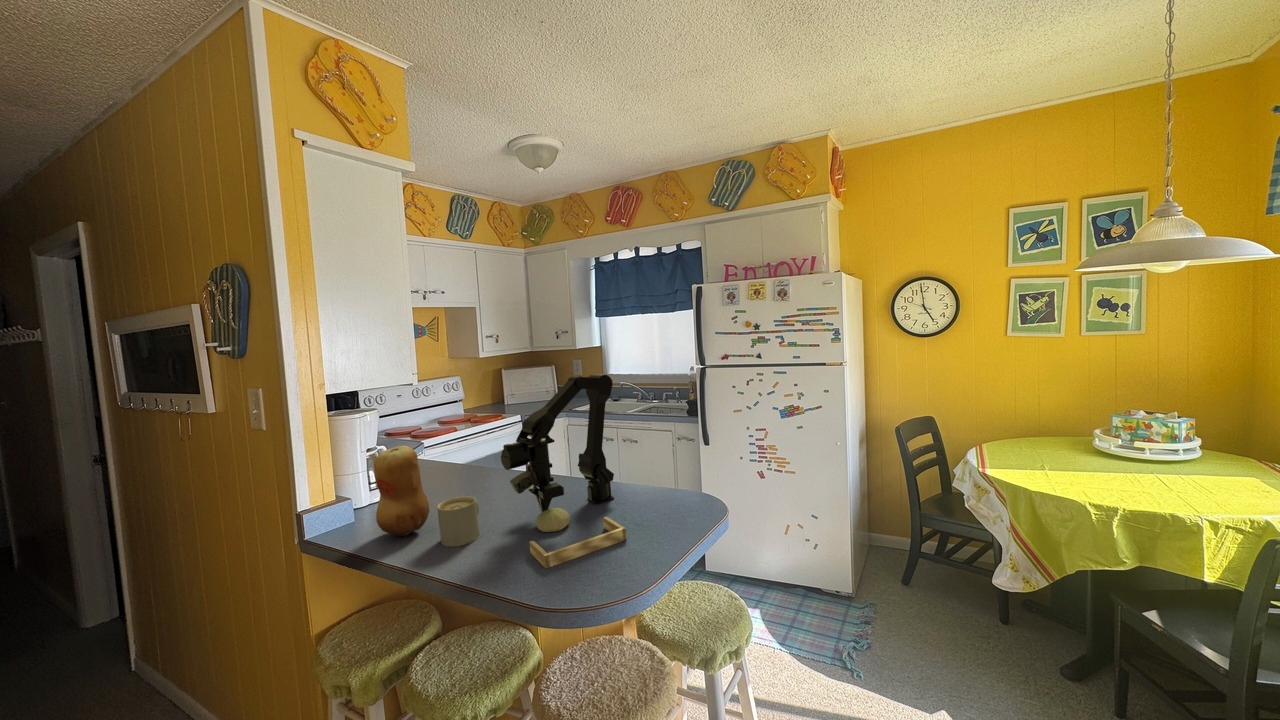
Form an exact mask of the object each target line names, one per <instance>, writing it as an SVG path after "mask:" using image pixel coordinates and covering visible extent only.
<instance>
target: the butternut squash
mask: <svg viewBox="0 0 1280 720" xmlns="http://www.w3.org/2000/svg"><path fill="white" fill-rule="evenodd" d="M373 471H374V478H375V484H376V486H377V488H378V492H379V494H380V495H379V500H378V504H377V507H376V512H375V514H376V515H375V516H376V517H375V518H376V519H375V520H376V524H377V525H378V527H379V529H380V530H381V531H382V532H384V533H386V534H387V533H388V534H391V535H394V536H397V537H398V536H399V537H404V536H405V537H406V536H408V535H409V534H411V533H412V532H414V531H415V532H416V531H419V530H421V528H422V527H423V526H424V525H425V523H426V521H427V520H428V517H429V513H430V503H429V501H428V498H427V495H426V494H425V492H424V489H423V486H422V485H423V484H422V478H421V469H420V464H419V461H418V453H417V452H416V451H415V450H414V448H412V447H410V446H407V445H398V446H395V447H391V448H389V449H386V450H384V451H382V452H381V453H379V454H378V455H377V456H376V457H375V460H374V462H373Z"/></svg>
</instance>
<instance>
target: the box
mask: <svg viewBox="0 0 1280 720" xmlns="http://www.w3.org/2000/svg"><path fill="white" fill-rule="evenodd" d="M602 521H603V529H604V530H606V531H607V530H608V531H607V532H605V533H603V534H599V535H597V536H594V537H591V538H587V539H585V540H582V541H579V542H577V543H573V544H571V545H568V546H567V545H566V546H565V547H561V548H559V549H556V550H553V551H551V552H546V551H545V550H544V549H543V548H542V547H541V545H539V544H537V542H536V541H535V540H531V541H529V550H530V552H529V553H530V555H531V556H533V558H534V559H536V560H537V561H538V562H539V563H540V564H541V565H542V566H543V567H544V568H545V569H546V568H547V569H549V568H552V567H555V566H557V565H560V564H563V563H566V562H568V561H571V560H574V559H576V558H579V557H582V556H585V555H588V554H591V553H594V552H596V551H598V550H602V549H603V548H607V547H609V546H613V545H616V544H618V543H621V542H624V541H626V540H627V528H626V527H624V526H622V524H619V523H618V522H616V521H614V520H612V519H611V518H610V517H608V516H604V517H603V518H602ZM554 565H555V566H554Z"/></svg>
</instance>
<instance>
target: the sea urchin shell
mask: <svg viewBox="0 0 1280 720" xmlns="http://www.w3.org/2000/svg"><path fill="white" fill-rule="evenodd" d="M570 518H571V517H570V514H569V512H568V511H566V510H565V509H563V508H560V507H553V508H548V510H546V511H544V512H541V513H539V514H538V515H537V517H536V519H535V526H536V528H537V529H538V531H540V532H543V533H551V532H554V533H555V532H558V531H562V530H563V529H565V528H566V527H567V526H568V525H569V523H570Z"/></svg>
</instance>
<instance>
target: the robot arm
mask: <svg viewBox="0 0 1280 720" xmlns="http://www.w3.org/2000/svg"><path fill="white" fill-rule="evenodd" d="M612 389H613V379H612V378H611V376H610V375H608V374H600V373H591V374H590V375H589V376H579V375H571V376H570V377H568V379H567V381H566V382H565V383H564V385H563V386H562V387H561V388H560V389H559V390H557V392H556V393H555V394H554V395H553V397H552V398H550V400H549V401H548V402H546V404H544V406H543V407H541V408H540V409H538V410H536V411H534V412H533V413H531V414H530V415H529V416H527V417H526V418H525V419H524V420H523V422H522V428H521V430H520V432H519V433H518V435H517V438H516V440H515V442H514V443H506V444H504V445H503V446H502V447H503V449H502V451H501V454H500V461H501V465H502V467H503V468H504V469H505V470H506V471H509V470H513V469H517V468H520V467H523V466H526V469H525V471H524V472H521V473H519V474H518V475H516V476H515V477H513V478H512V479H510V480H509V483H510V485H511V487H512V488H513V491H514V492H516V494H522V493H524V492H525V491H526V490H528V492H530V493H531V494H533V495H534V497H535V498H536V500H537V501H536V502H537V503H538V507H539V509H540V512H541V513H542V512H544V511H546V510H549V509H550V504H551V502H552V499H554V498H557V497H558V498H559V497H561V496H564V495H565V487H564V486H562V485H561V484H559V483H558V482H554V481H555V480H554V477H553V476H552V475H551V468H553V463H551V462H550V454H549V453H550V451H549V444H553V443H555V441H556V440H555V439H553V438H552V437H551V436H550V435H549V434H550V432H551V431H552V429H553V427H554V425H555V422H556V419H557V417H558V416H559V415H561V414H560V413H562V412H563V411H564V409H565V408H566V407H567V406H568V405H569V404H570V403H571V401H573V399H574V398H575V397H576V396H577V395H578V393H580V391H581V390H585V393H586V396H587V399H588V401H589V409H588V410H589V411H588V419H587V420H588V421H587V422H588V423H587V435H586V447H585V450H584V451H583V453H582V452H581V453H579V454H578V463H577V467H578V468H579V469H578V470H579V472H580V474H581V475H583V478H584V479H585V480H588V481H587V485H588V486H587V489H586V490H587V491H586V492H587V498H586V499H587V500H588V501H590V502H592V503H593V504H596V505H597V504H598V505H599V504H601V503H604V502H608V501H611V500H614V499H615V496H612V487H611V486H612V485H611V482H613V481H614V476H615V473H614V472H612V471H611V470H610V469H609V468H608V467H607V458H606V456H605V454H604V451H603V443H604V442H603V441H604V439H603V438H604V430H605V429H604V428H605V427H604V426H605V415H606V404H607V401H608V400H609V398H610V397H611V395H612Z"/></svg>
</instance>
